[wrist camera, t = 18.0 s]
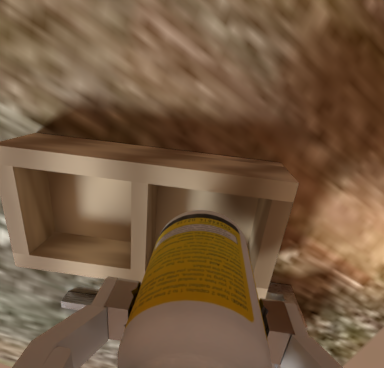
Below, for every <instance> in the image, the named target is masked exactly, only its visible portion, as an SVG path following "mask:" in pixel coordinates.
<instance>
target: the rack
mask: <svg viewBox="0 0 384 368" xmlns="http://www.w3.org/2000/svg"><path fill="white" fill-rule="evenodd" d="M298 185H299V182H298V181H297V180H296V179H295V178H294V177H293V176H292V175H291V174H290V173H289V171H288V170H287V169H286V168H285V167H284V166H283V165H282V164H281V163H280V162H271V161H263V160H255V159H247V158H239V157H230V156H222V155H214V154H206V153H198V152H190V151H181V150H173V149H165V148H157V147H149V146H140V145H132V144H124V143H116V142H108V141H99V140H91V139H83V138H75V137H67V136H59V135H50V134H42V133H33V134H29V135H25V136H21V137H17V138H13V139H9V140H5V141H1V142H0V196H1V201H2V205H3V210H4V215H5V219H6V224H7V228H8V233H9V237H10V242H11V246H12V251H13V256H14V260H15V265H16V266H18V267H25V268H32V269H39V270H46V271H53V272H60V273H67V274H74V275H81V276H87V277H94V278H101V279H106V278H107V277H108V276H110V277H116V278H123V279H129V280H135V281H140V282H141V283H142V281H143V278H144V275H145V272H146V269H147V266H148V264H149V261H150V259H151V256H152V253H153V250H154V247H155V245H156V242H157V240H158V237H159V235H160V233H161V231H162V230H163V228H164V227H165V226H166V224H167V223H168V222H169V221H171V220H172V219H173V218H175V217H176V216H178V215H180V214H182V213H185V212H189V211H194V210H208V211H213V212H216V213H219V214H222V215H224V216H226V217H227V218H229V219H230V220H232V221H233V222H234V223H235V224H236V225H237V226H238V227H239V228H240V230H241V231H242V233H243V235H244V237H245V240H246V243H247V246H248V251H249V255H250V260H251V265H252V270H253V275H254V280H255V284H256V289H257V293H258V298H259V299H260V298H263V299H265V298H266V294H267V291H268V287H269V284H270V281H271V277H272V274H273V270H274V267H275V264H276V260H277V257H278V253H279V250H280V247H281V243H282V240H283V236H284V233H285V230H286V226H287V223H288V219H289V216H290V213H291V209H292V206H293V202H294V199H295V196H296V192H297V189H298Z"/></svg>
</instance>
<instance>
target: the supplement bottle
mask: <svg viewBox="0 0 384 368" xmlns="http://www.w3.org/2000/svg"><path fill="white" fill-rule="evenodd" d="M118 368H272V363H271V357H270V351H269V345H268V341H267V335H266V331H265V326H264V322H263V317H262V312H261V308H260V303H259V298H258V293H257V289H256V284H255V280H254V275H253V270H252V265H251V260H250V255H249V251H248V246H247V243H246V240H245V237H244V235H243V233H242V231H241V230H240V228H239V227H238V226H237V225H236V224H235V223H234V222H233V221H232V220H230V219H229V218H227V217H226V216H224V215H222V214H219V213H216V212H213V211H208V210H194V211H189V212H185V213H182V214H180V215H178V216H176V217H175V218H173V219H172V220H171V221H169V222H168V223H167V224H166V226H165V227H164V228H163V230H162V231H161V233H160V235H159V237H158V240H157V242H156V245H155V247H154V250H153V253H152V256H151V259H150V261H149V264H148V266H147V269H146V272H145V275H144V278H143V281H142V283H141V286H140V289H139V292H138V294H137V297H136V300H135V302H134V305H133V308H132V310H131V313H130V315H129V318H128V321H127V324H126V327H125V330H124V333H123V336H122V339H121V343H120V346H119V351H118Z"/></svg>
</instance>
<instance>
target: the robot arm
mask: <svg viewBox="0 0 384 368" xmlns="http://www.w3.org/2000/svg"><path fill="white" fill-rule="evenodd" d="M140 286H141V282H140V281H135V280H129V279H123V278H116V277H110V276H108V277H107V278H106V279H105V281H104V283H103V284H102V286H101V288H100V290H99V291H98V293H97V295H96V297H95V298H94V300H93V302H92V304H91V305H86V306H85V307H83V308H81V309H80V310H78V311H77V312H75V313H74V314H72V315H71V316H69V317H68V318H66V319H65V320H63V321H61V322H60V323H58V324H57V325H55V326H54V327H52V328H51V329H49V330H48V331H46V332H45V333H43V334H41V335H40V336H38V337H37V338H35V339H34V340H32V341H31V342H30V344H29V345H28V347H27V348H26V349H25V351H24V352H23V353H22V355H21V356H20V358H19V359H18V360H17V362H16V363H15V364H14V366H13V367H12V368H80V367H81V366H82V365H83V364H84V363H85V362H86V361H87V360H88V359H89V358H90V357H91V356H92V355H93V354H94V353H95V352H96V351H97V350H98V349H99V348H101V347H102V346H103V345H104V344H105V343H106V342H107V341H108V339H113V340H121V339H122V336H123V333H124V330H125V327H126V324H127V321H128V318H129V315H130V313H131V310H132V308H133V305H134V302H135V300H136V297H137V294H138V292H139V289H140ZM259 303H260V308H261V312H262V317H263V322H264V326H265V331H266V335H267V341H268V345H269V351H270V357H271V363H272V364H278V365H280V367H281V368H343V367H342V366H341V365H340V364H339V363H338V362H337V361H336V360H335V359H334V358H333V357H331V356H330V355H329V354H328V353H327V352H326V351H325V350H324V349H323V348H322V347H321V346H320V345H319V344H318V343H317V342H316V341H315V340H314V339H313V338H311V337H309V336H308V333H307V331H306V328H305V326H304V323H303V321H302V318H301V316H300V313H299V311H298V308H297V306H296V304H295V303H293V302H285V301H278V300H270V299H263V298H260V299H259Z"/></svg>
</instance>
